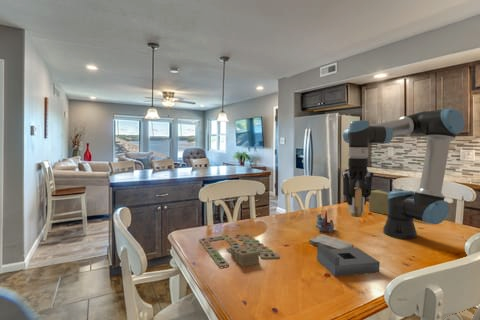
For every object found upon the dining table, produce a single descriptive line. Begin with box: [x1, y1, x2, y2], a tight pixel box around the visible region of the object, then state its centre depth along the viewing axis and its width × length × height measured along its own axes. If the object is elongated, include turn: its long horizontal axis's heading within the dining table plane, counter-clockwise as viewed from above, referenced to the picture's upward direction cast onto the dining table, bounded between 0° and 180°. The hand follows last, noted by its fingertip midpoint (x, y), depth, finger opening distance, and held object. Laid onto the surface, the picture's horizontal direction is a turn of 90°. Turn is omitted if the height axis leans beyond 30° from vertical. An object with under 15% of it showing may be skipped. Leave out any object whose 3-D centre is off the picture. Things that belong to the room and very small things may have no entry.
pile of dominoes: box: [198, 233, 280, 268], centre depth 121 cm, size 35×27×6 cm
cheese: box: [368, 189, 390, 216], centre depth 178 cm, size 22×10×15 cm, turn 24°
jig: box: [316, 243, 380, 278], centre depth 104 cm, size 18×14×7 cm
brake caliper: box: [315, 210, 335, 233], centre depth 147 cm, size 11×11×12 cm
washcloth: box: [308, 234, 355, 249], centre depth 125 cm, size 12×18×3 cm, turn 41°
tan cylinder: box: [350, 186, 363, 218], centre depth 113 cm, size 4×4×12 cm
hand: (356, 212), depth 113 cm, fingers closed on tan cylinder, 4 cm apart
